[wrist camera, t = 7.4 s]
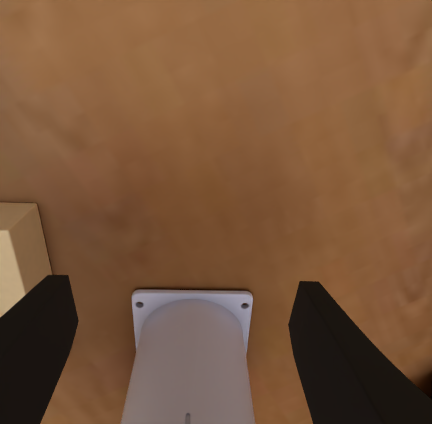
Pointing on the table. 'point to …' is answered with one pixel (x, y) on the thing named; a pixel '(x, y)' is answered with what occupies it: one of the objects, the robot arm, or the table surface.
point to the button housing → (20, 252)
